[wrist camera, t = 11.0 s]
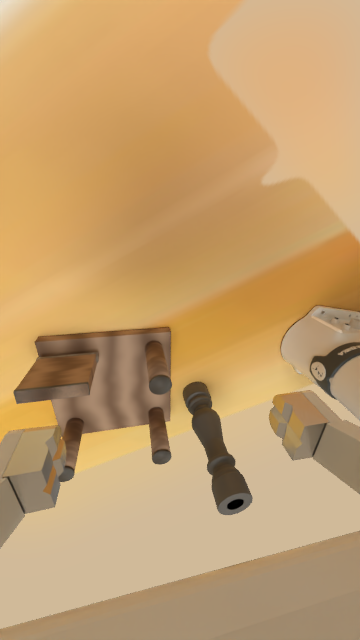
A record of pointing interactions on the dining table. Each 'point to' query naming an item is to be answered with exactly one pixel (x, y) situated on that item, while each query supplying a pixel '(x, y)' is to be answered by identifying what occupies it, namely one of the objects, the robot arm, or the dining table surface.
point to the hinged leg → (58, 378)
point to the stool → (116, 387)
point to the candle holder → (216, 452)
